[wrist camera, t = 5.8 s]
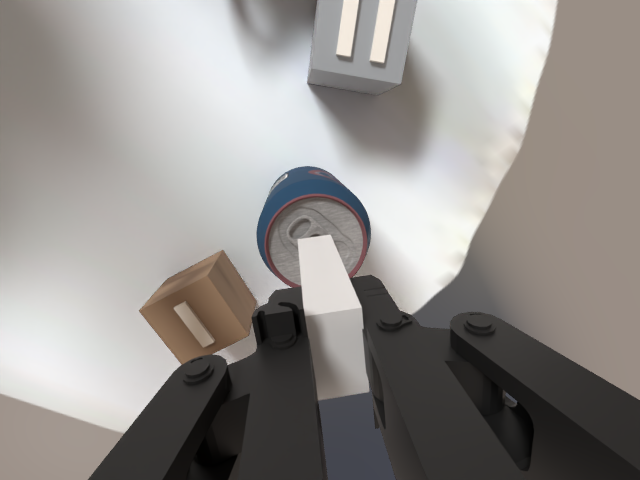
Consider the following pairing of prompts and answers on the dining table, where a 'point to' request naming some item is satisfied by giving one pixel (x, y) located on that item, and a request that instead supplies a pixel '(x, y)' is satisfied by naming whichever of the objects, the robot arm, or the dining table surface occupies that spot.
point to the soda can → (311, 222)
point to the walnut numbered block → (201, 309)
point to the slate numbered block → (360, 44)
